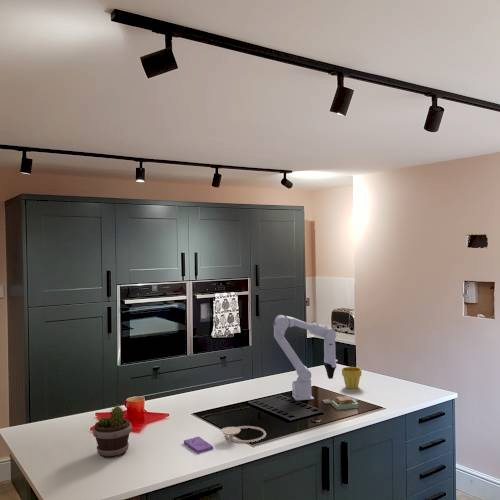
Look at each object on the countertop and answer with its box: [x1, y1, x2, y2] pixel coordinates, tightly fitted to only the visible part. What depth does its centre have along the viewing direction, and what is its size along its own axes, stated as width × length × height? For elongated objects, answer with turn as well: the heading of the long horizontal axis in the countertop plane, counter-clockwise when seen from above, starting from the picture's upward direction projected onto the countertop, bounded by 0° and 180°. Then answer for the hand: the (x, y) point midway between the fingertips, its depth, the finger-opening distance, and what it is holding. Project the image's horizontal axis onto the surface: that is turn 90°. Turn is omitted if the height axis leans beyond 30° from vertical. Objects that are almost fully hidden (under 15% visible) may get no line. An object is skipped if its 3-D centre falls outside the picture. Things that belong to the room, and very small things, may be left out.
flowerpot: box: [92, 403, 133, 459], centre depth 198 cm, size 14×15×20 cm
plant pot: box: [341, 366, 362, 390], centre depth 278 cm, size 10×10×10 cm
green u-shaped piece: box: [321, 396, 359, 411], centre depth 250 cm, size 16×14×2 cm
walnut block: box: [335, 395, 353, 405], centre depth 247 cm, size 6×6×4 cm
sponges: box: [183, 436, 214, 454], centre depth 203 cm, size 7×13×2 cm, turn 33°
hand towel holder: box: [220, 425, 267, 444], centre depth 212 cm, size 17×4×20 cm
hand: (330, 378), depth 262 cm, fingers closed
